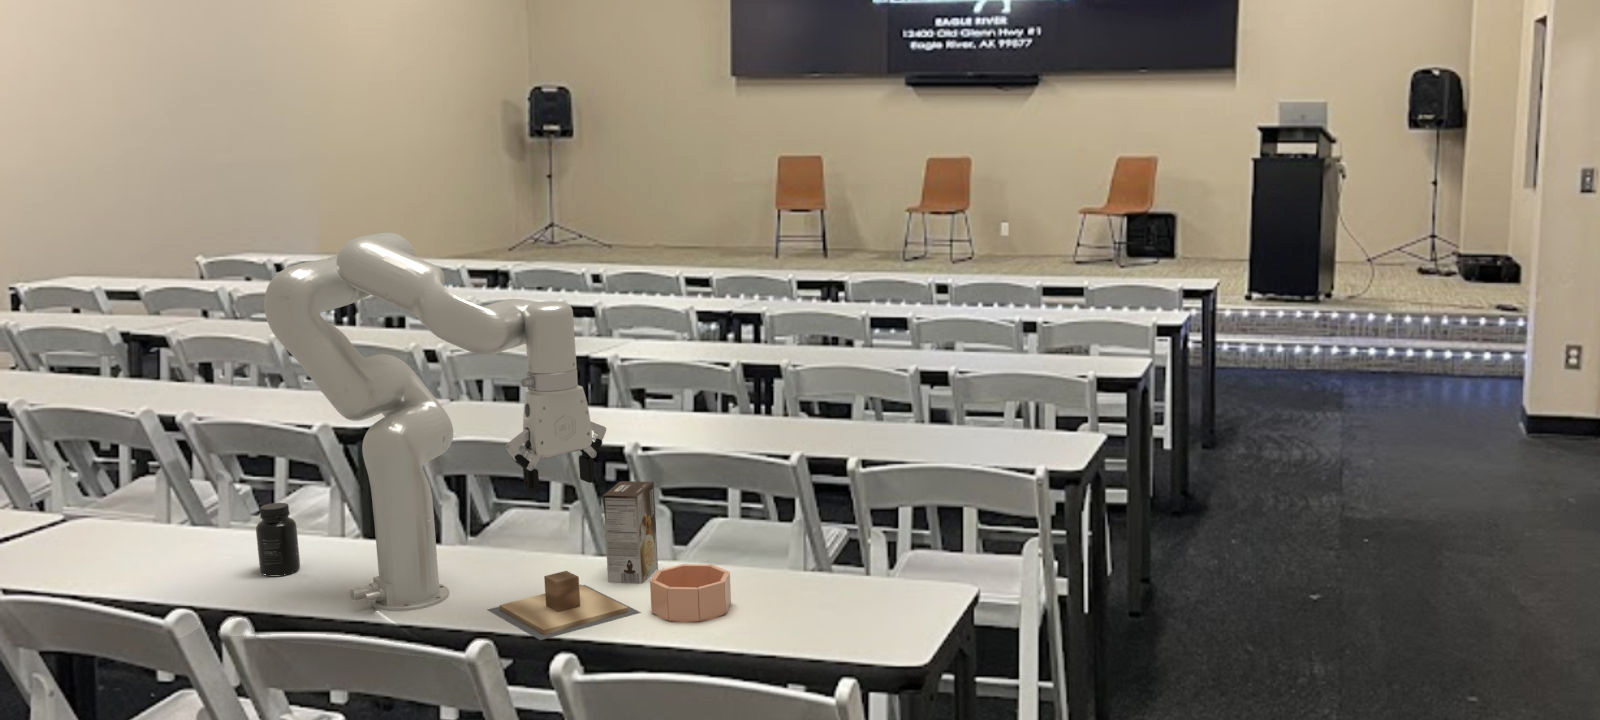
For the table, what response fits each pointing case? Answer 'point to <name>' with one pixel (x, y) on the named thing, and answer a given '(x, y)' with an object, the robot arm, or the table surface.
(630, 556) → the coffee box
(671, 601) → the bowl
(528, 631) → the mat
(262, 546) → the supplement bottle
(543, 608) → the lid
